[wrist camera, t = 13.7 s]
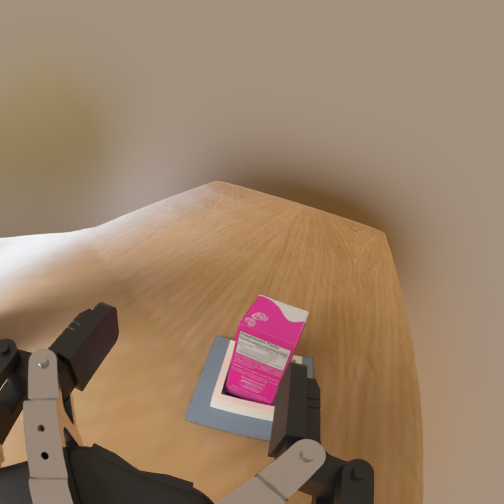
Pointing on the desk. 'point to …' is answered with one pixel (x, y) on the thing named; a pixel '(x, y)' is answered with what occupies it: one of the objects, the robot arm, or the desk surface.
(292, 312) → the supplement box
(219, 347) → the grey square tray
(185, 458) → the desk surface
